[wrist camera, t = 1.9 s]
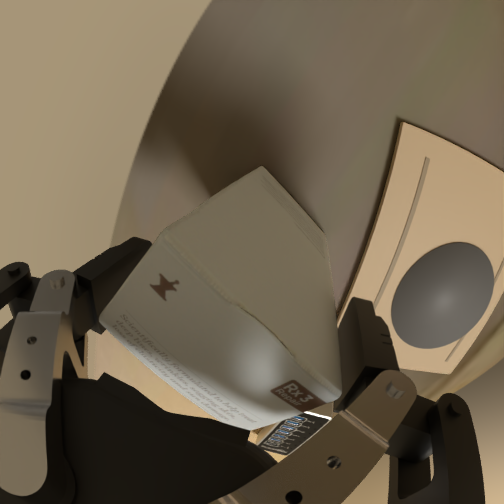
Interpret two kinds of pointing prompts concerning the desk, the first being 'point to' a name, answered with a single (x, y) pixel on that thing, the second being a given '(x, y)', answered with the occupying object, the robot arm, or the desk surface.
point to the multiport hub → (294, 430)
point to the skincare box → (237, 307)
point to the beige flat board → (434, 251)
